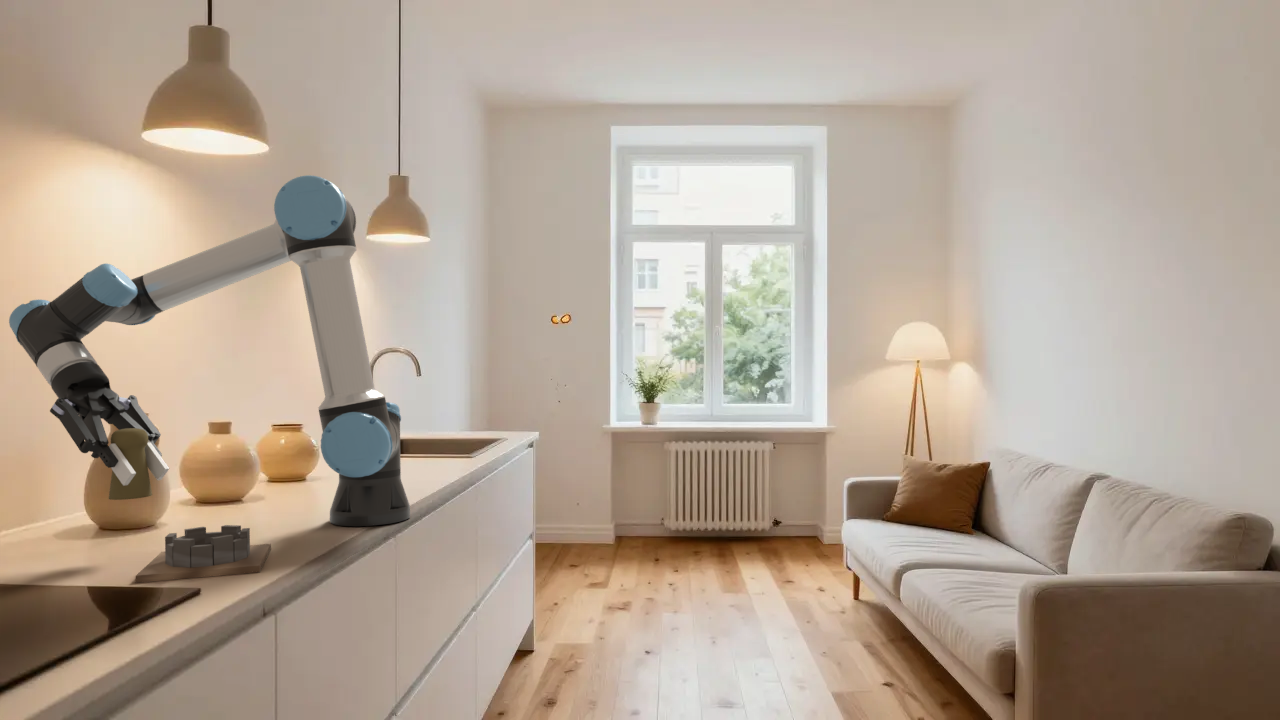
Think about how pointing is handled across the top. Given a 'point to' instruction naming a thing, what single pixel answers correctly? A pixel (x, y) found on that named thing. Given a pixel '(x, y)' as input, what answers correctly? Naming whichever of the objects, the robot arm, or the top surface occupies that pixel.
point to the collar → (206, 555)
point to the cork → (134, 452)
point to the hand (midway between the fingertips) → (146, 476)
